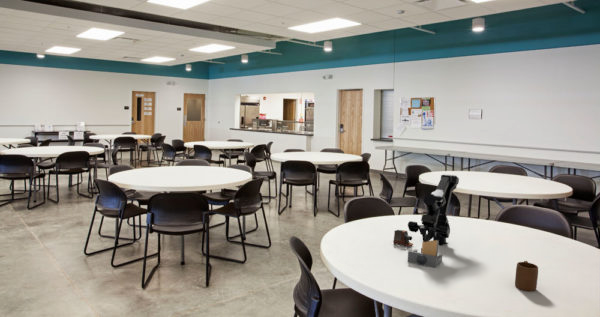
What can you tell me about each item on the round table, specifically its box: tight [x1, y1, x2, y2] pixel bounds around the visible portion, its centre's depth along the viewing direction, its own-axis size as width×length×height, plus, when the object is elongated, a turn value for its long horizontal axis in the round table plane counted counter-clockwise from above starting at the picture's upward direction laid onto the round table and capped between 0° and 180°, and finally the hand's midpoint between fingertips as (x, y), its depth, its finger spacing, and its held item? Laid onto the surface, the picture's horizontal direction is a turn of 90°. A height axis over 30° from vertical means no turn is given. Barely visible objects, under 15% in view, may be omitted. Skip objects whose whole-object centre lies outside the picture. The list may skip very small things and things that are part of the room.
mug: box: [514, 260, 539, 292], centre depth 164 cm, size 12×8×9 cm, turn 156°
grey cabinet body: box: [407, 248, 443, 269], centre depth 188 cm, size 12×13×5 cm
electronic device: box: [392, 229, 414, 248], centre depth 211 cm, size 4×10×8 cm, turn 44°
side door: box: [420, 240, 439, 257], centre depth 189 cm, size 2×9×9 cm, turn 117°
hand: (424, 244), depth 191 cm, fingers closed
